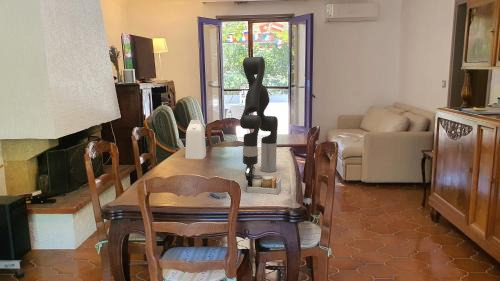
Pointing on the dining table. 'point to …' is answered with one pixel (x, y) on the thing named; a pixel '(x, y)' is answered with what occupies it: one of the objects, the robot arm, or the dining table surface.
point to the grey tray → (266, 190)
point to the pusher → (274, 182)
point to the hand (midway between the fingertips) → (249, 187)
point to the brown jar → (267, 181)
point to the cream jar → (257, 181)
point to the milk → (195, 141)
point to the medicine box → (219, 195)
